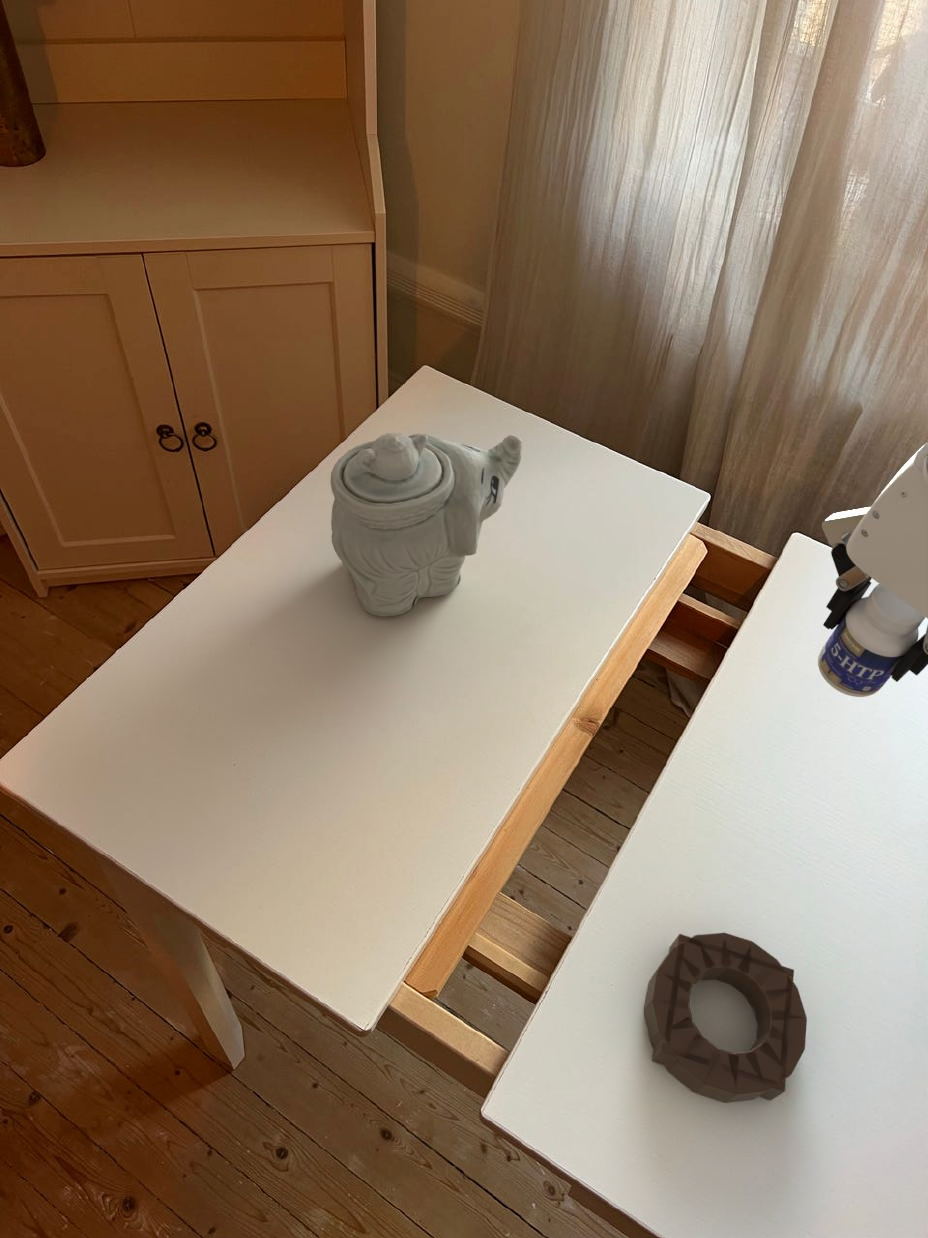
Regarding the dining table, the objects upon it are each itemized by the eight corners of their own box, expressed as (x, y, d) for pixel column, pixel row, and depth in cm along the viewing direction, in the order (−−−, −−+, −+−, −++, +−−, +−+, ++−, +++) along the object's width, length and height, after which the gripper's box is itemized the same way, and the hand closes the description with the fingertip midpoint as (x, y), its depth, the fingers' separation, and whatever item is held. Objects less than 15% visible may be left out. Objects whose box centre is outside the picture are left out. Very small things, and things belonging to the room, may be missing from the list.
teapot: (508, 533, 103) (533, 394, 88) (484, 644, 93) (508, 509, 79) (358, 504, 103) (357, 361, 89) (320, 611, 94) (313, 472, 79)
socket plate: (657, 927, 78) (666, 914, 75) (796, 971, 76) (810, 959, 74) (632, 1073, 71) (642, 1063, 68) (785, 1123, 70) (800, 1115, 67)
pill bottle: (805, 674, 75) (851, 604, 68) (831, 633, 78) (878, 561, 71) (868, 711, 73) (922, 643, 66) (892, 667, 76) (946, 597, 69)
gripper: (1155, 524, 56) (994, 692, 71) (907, 373, 63) (806, 553, 78) (1099, 584, 53) (942, 748, 67) (844, 417, 60) (750, 598, 74)
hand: (870, 642), depth 72 cm, fingers closed on pill bottle, 5 cm apart
